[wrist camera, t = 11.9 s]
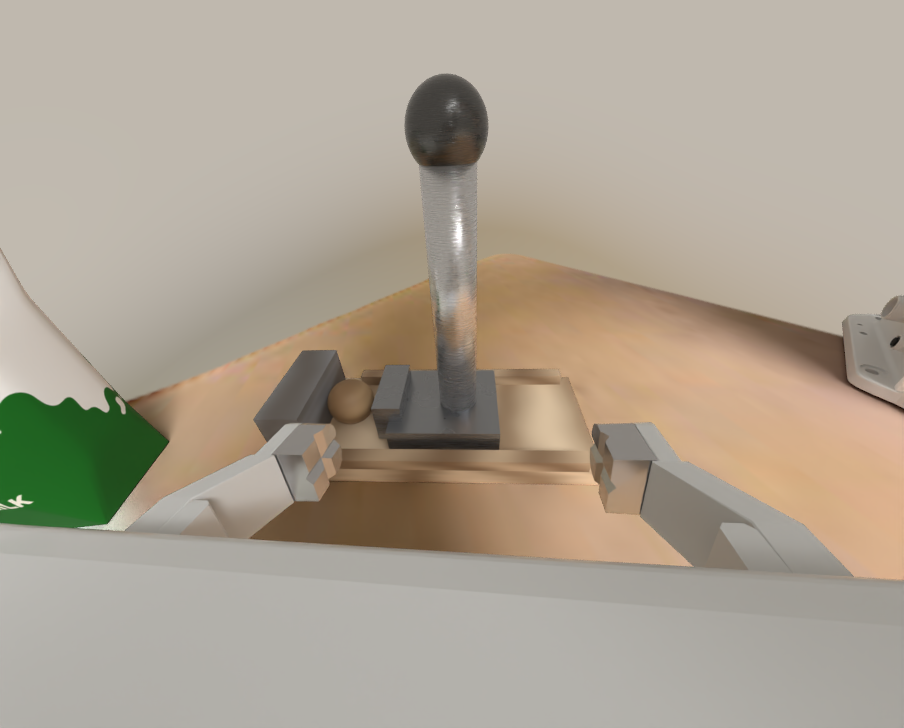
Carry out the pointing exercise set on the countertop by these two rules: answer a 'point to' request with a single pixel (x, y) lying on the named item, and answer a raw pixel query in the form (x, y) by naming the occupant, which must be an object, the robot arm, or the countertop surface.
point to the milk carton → (61, 425)
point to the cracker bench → (369, 458)
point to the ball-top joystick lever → (445, 282)
